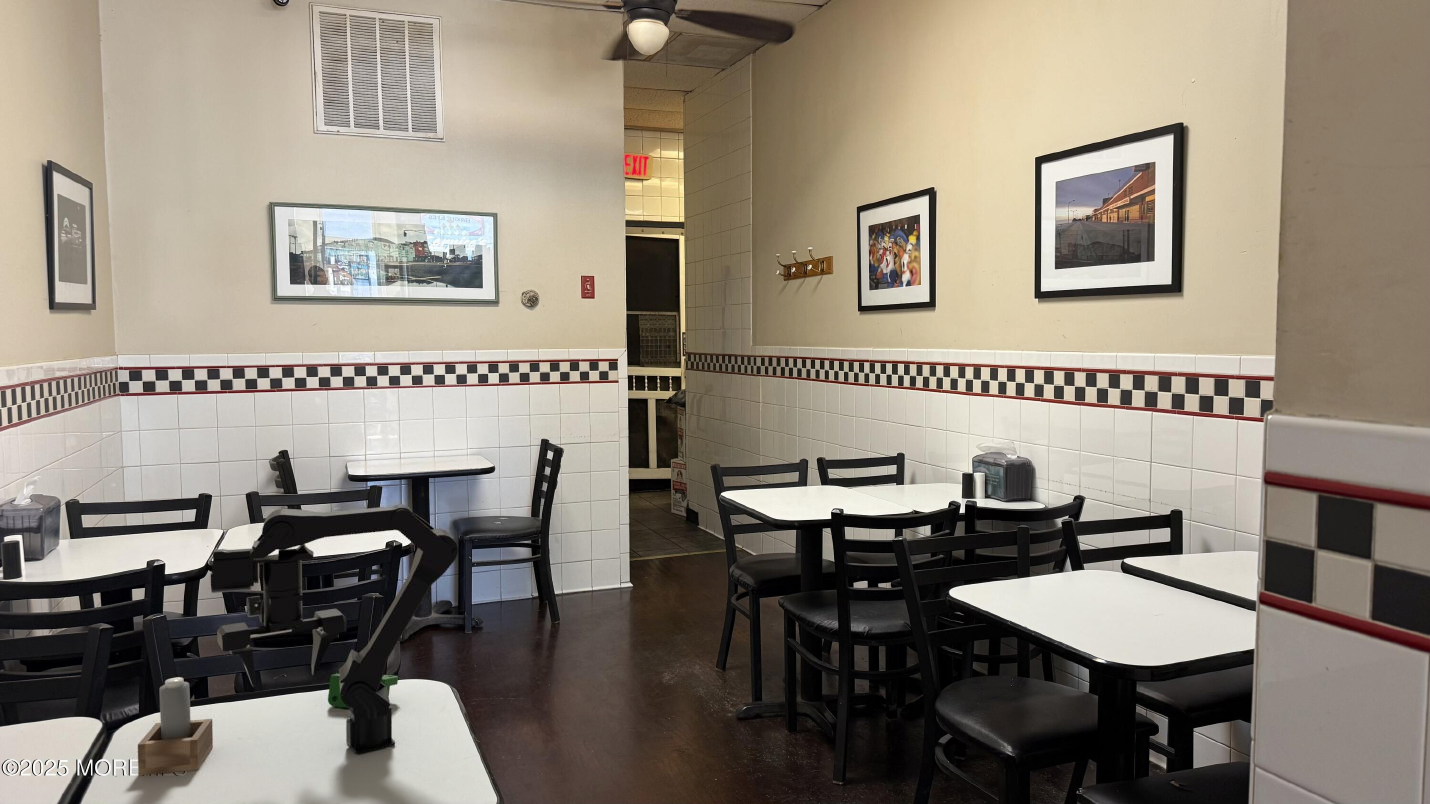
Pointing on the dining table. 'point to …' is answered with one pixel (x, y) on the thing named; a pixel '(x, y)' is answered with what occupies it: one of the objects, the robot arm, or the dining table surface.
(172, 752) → the end holder
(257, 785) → the dining table surface
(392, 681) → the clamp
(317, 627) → the robot arm
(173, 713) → the white rounded cylinder
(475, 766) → the dining table surface
